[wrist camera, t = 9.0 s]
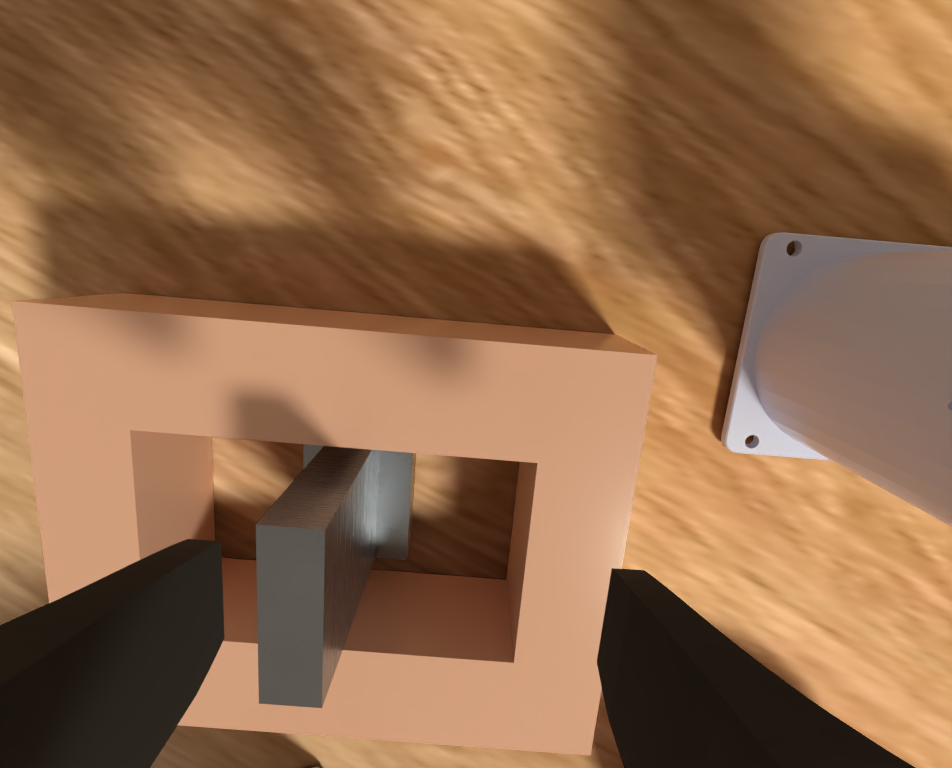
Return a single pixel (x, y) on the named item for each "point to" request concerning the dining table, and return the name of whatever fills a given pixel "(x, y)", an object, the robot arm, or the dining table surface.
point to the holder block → (363, 427)
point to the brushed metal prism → (324, 563)
